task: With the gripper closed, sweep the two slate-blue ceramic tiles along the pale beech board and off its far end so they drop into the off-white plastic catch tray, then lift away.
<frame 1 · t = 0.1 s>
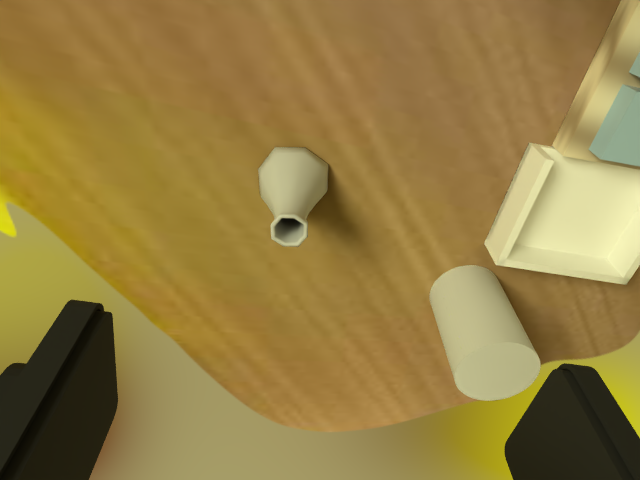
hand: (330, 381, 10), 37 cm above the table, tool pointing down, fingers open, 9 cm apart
tile 1: (635, 124, 43), point 2 cm above the table, touching board
flask: (293, 177, 48), on the table
tray: (571, 207, 50), on the table
grey cylinder: (463, 292, 57), on the table
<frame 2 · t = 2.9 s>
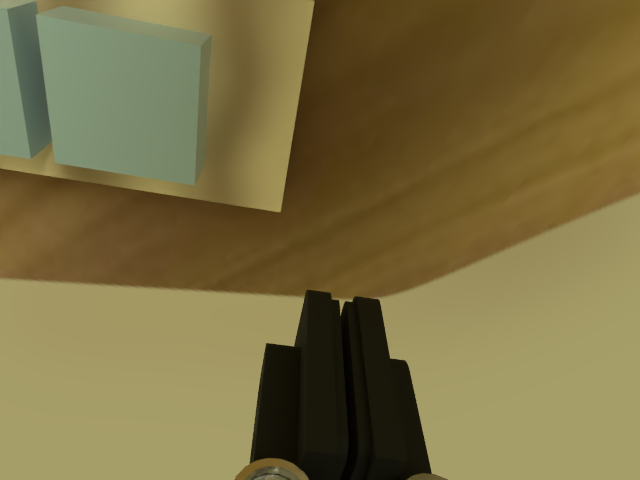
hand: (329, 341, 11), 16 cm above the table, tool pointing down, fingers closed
board: (113, 69, 23), on the table
tile 2: (139, 92, 21), point 2 cm above the table, touching board
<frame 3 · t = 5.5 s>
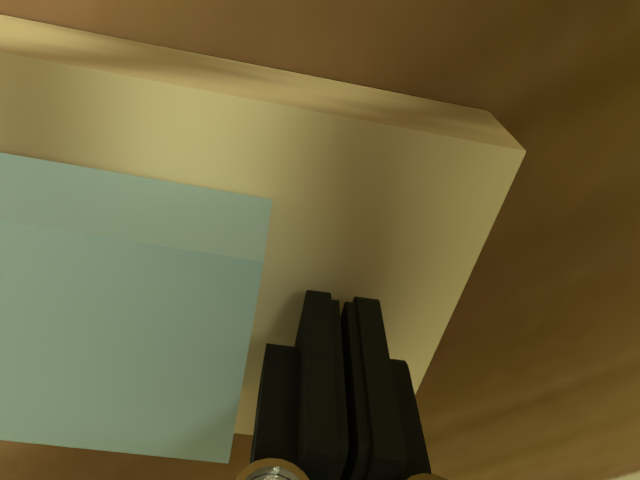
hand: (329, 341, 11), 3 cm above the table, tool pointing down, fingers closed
board: (111, 225, 13), on the table
tile 2: (125, 288, 11), point 3 cm above the table
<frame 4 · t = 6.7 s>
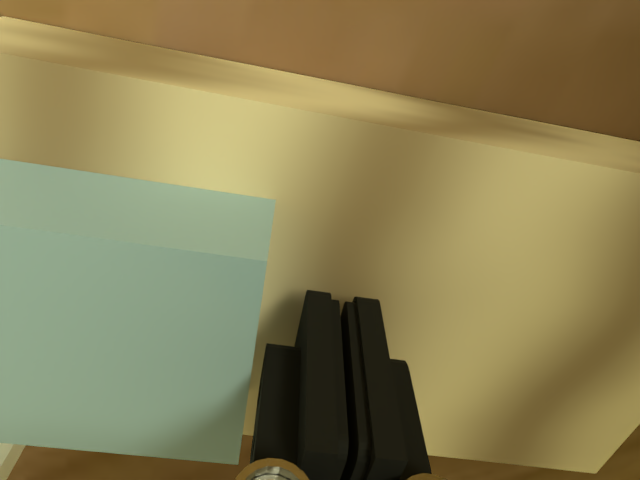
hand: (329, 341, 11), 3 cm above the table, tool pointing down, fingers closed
board: (356, 264, 14), on the table
tile 2: (133, 291, 11), point 3 cm above the table, touching gripper, tile 1
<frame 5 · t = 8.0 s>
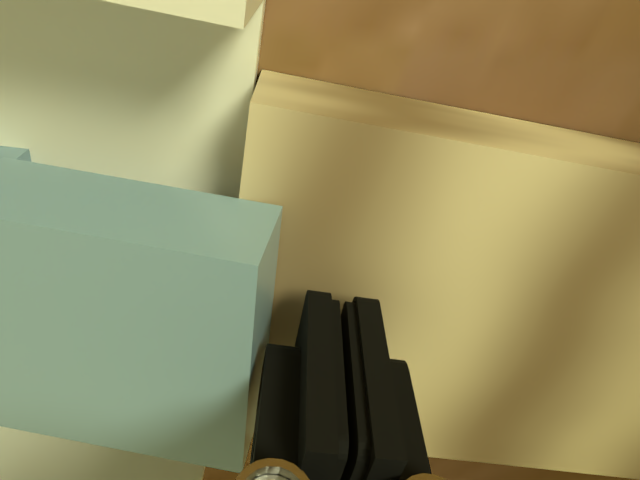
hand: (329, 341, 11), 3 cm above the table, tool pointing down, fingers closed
board: (534, 292, 15), on the table
tray: (16, 214, 13), on the table
tile 2: (149, 293, 12), point 2 cm above the table, tilted 8°, touching board, gripper, tile 1
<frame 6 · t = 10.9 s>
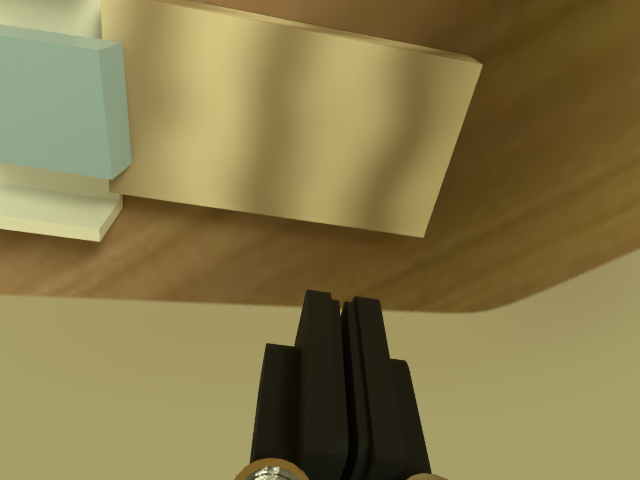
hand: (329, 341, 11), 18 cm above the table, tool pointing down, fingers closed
board: (286, 117, 27), on the table
tray: (2, 69, 25), on the table
tile 2: (68, 97, 24), point 2 cm above the table, tilted 8°, touching board, tile 1
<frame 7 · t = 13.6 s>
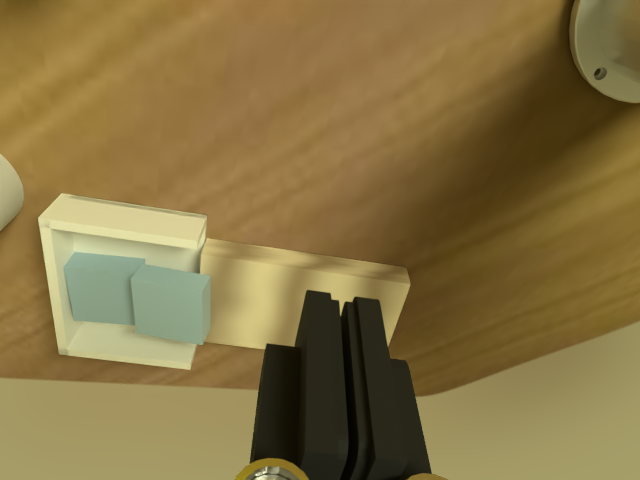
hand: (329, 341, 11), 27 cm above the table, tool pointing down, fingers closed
board: (299, 295, 45), on the table
tile 1: (113, 282, 44), point 1 cm above the table, touching tile 2, tray
tray: (137, 273, 44), on the table
tile 2: (177, 297, 42), point 2 cm above the table, tilted 8°, touching board, tile 1
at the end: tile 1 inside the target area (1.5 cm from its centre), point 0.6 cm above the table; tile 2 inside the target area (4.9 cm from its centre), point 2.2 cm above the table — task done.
